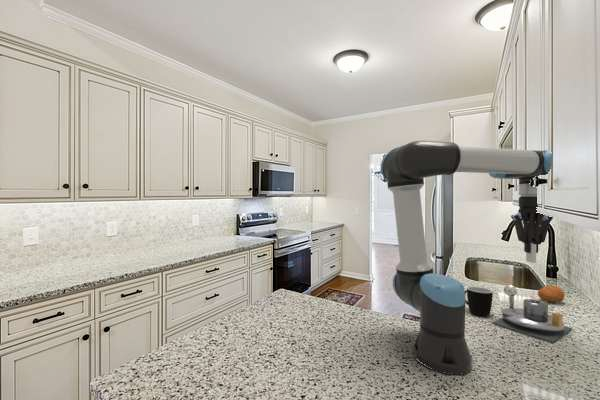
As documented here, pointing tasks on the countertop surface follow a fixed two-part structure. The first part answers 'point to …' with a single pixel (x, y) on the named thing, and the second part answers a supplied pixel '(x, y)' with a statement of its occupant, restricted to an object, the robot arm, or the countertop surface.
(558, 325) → the turntable
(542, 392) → the countertop surface
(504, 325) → the turntable base
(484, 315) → the mug
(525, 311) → the cover
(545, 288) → the potato
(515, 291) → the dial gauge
